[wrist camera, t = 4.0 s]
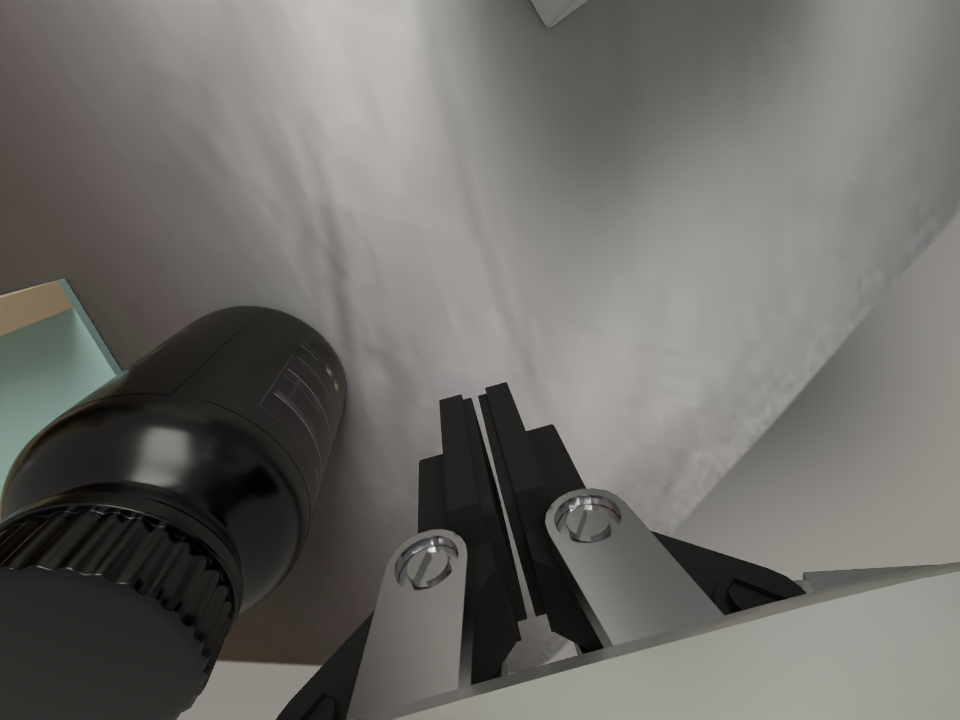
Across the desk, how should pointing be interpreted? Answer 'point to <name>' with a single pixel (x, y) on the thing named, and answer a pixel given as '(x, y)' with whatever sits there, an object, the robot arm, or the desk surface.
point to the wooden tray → (45, 362)
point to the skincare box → (555, 9)
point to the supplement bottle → (161, 517)
